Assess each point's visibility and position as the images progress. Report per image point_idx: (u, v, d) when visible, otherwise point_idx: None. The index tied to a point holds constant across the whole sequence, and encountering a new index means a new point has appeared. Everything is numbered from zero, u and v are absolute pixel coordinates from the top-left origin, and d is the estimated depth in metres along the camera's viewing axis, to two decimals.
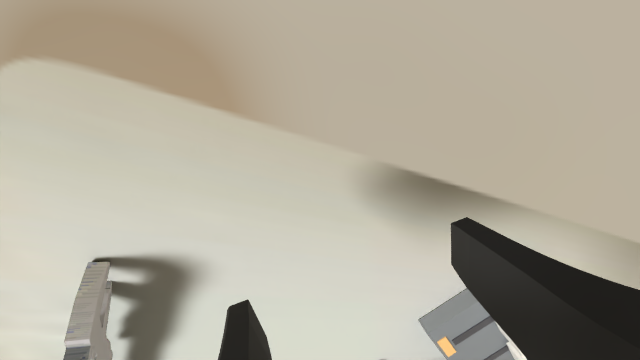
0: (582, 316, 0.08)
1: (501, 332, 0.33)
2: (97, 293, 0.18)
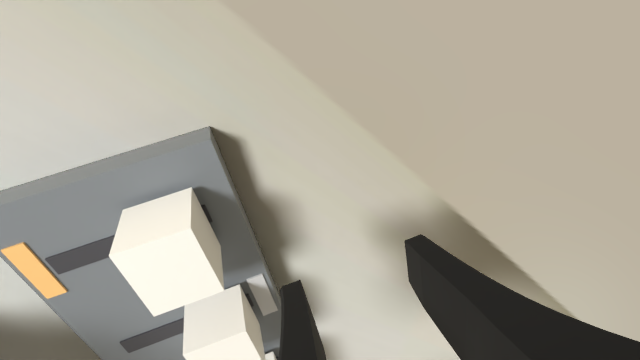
0: (514, 346, 0.08)
1: None
2: None
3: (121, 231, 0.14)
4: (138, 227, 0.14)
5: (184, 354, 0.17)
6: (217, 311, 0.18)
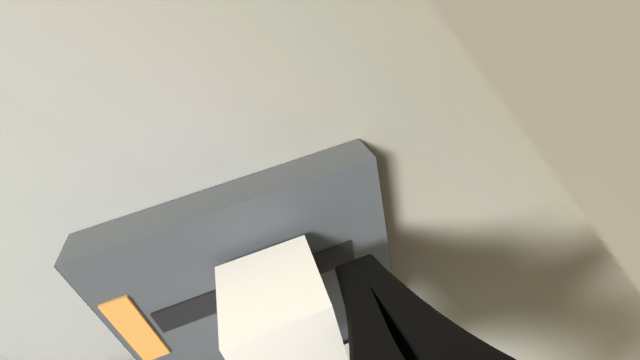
0: None
1: None
2: None
3: (224, 305, 0.10)
4: (249, 299, 0.10)
5: None
6: None
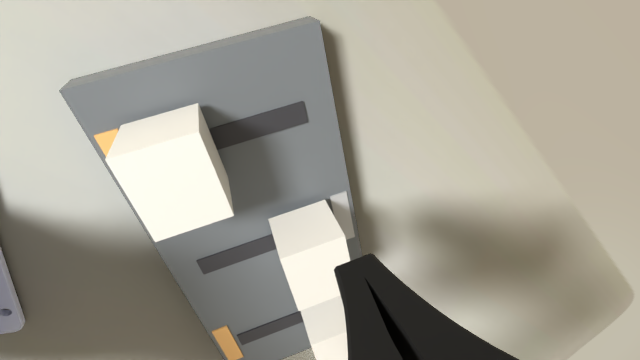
0: None
1: None
2: None
3: (119, 140, 0.13)
4: (139, 136, 0.13)
5: (281, 258, 0.16)
6: (307, 222, 0.17)
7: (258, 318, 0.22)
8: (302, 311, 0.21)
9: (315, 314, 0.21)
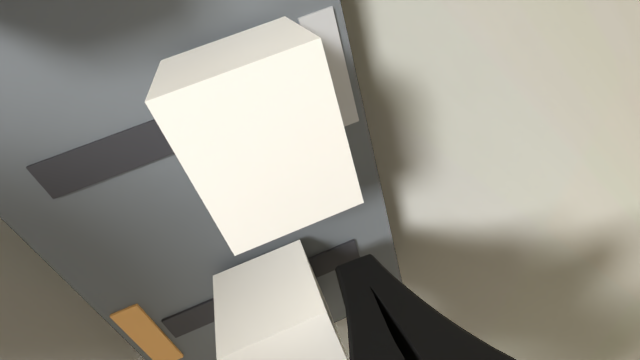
0: None
1: None
2: None
3: None
4: None
5: (150, 101, 0.06)
6: (237, 44, 0.07)
7: (196, 288, 0.12)
8: (216, 292, 0.11)
9: (238, 296, 0.11)
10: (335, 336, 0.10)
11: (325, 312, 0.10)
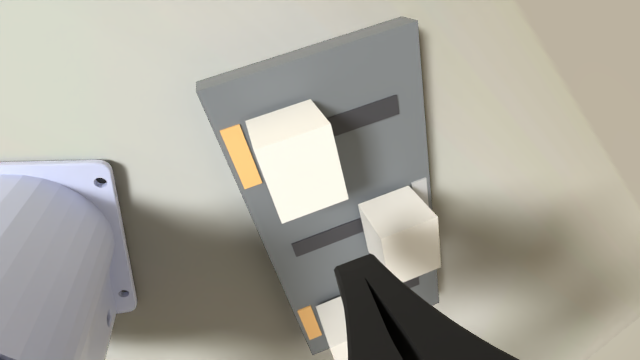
0: None
1: None
2: None
3: (255, 134, 0.14)
4: (272, 129, 0.14)
5: (382, 238, 0.17)
6: (397, 206, 0.19)
7: None
8: (320, 315, 0.22)
9: (333, 318, 0.22)
10: None
11: None
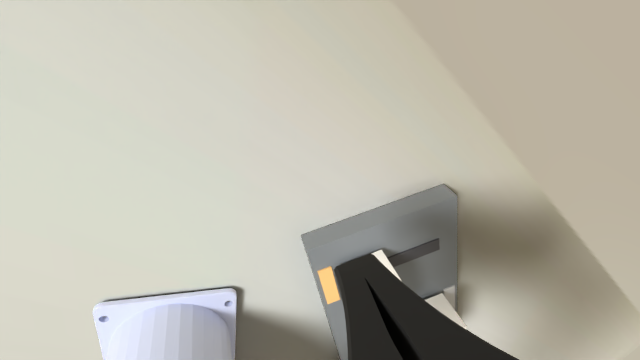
0: None
1: None
2: None
3: None
4: None
5: None
6: None
7: None
8: None
9: None
10: None
11: None
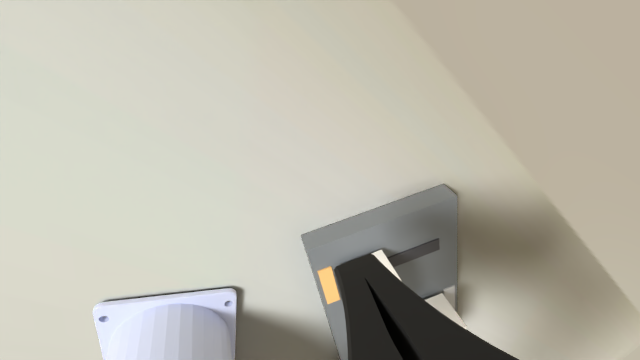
0: None
1: None
2: None
3: None
4: None
5: None
6: None
7: None
8: None
9: None
10: None
11: None
